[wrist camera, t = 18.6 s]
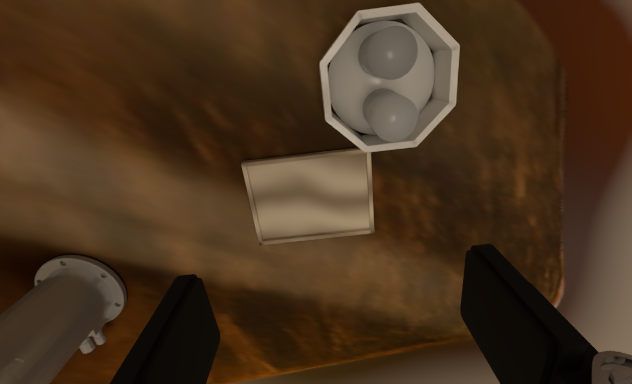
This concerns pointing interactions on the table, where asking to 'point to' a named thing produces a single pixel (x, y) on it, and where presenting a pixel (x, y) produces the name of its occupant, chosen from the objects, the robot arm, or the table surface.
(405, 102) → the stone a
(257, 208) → the tray
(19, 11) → the table surface
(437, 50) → the bowl
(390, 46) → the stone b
